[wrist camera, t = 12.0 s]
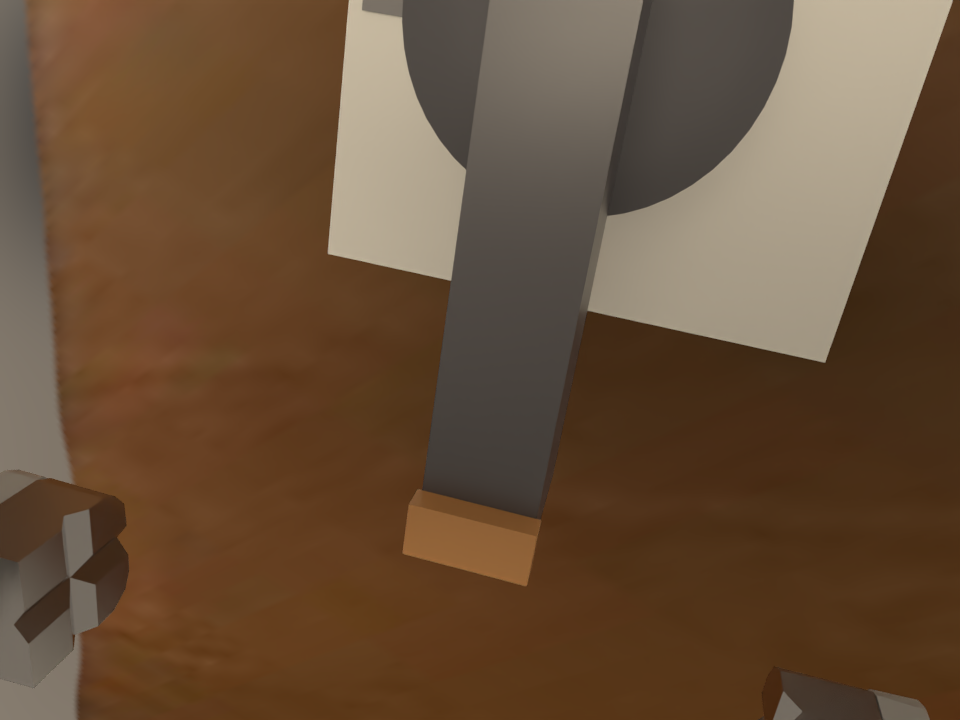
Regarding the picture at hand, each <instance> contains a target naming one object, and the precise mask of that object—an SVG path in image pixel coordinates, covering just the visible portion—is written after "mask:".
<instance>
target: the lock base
mask: <svg viewBox="0 0 960 720" xmlns="http://www.w3.org/2000/svg"><path fill="white" fill-rule="evenodd" d="M952 2H953V0H794V6H793V19H792V28H791V33H790V37H789V42H788V47H787V52H786V56H785V59H784V62H783V65H782V67H781V70H780V73H779V76H778V79H777V82H776V84H775V86H774V88H773V90H772V92H771V94H770V96H769V99H768V101H767V103H766V105H765V107H764V108H763V110H762V112H761V113H760V115H759V116H758V118H757V119H756V121H755V122H754V124H753V126H752V127H751V129H750V130H749V132H748V133H747V134H746V135H745V136H744V138H743V139H742V140H741V141H740V142H739V144H738V145H737V146H736V147H735V148H734V150H733V151H732V152H731V153H730V154H729V155H728V156H727V157H726V158H725V159H724V160H723V161H721V162H720V163H719V164H718V165H717V166H716V167H715V168H714V169H713V170H712V171H710V172H709V173H708V174H706V175H705V176H704V177H702V178H701V179H700V180H698V181H697V182H696V183H694V184H693V185H692V186H690V187H688V188H686V189H685V190H683V191H681V192H679V193H677V194H676V195H674V196H672V197H670V198H668V199H666V200H663V201H661V202H659V203H656V204H654V205H651V206H649V207H646V208H643V209H639V210H635V211H631V212H628V213H624V214H618V215H610V216H607V219H606V224H605V229H604V234H603V239H602V243H601V248H600V253H599V258H598V262H597V267H596V272H595V277H594V281H593V286H592V291H591V296H590V301H589V305H588V310H587V311H591V312H596V313H601V314H605V315H610V316H614V317H619V318H623V319H628V320H633V321H637V322H642V323H646V324H651V325H655V326H660V327H664V328H669V329H674V330H678V331H683V332H687V333H692V334H696V335H701V336H706V337H710V338H715V339H719V340H724V341H728V342H733V343H737V344H742V345H747V346H751V347H756V348H760V349H765V350H769V351H774V352H779V353H783V354H788V355H792V356H797V357H801V358H806V359H810V360H815V361H820V362H824V363H825V361H826V359H827V356H828V353H829V350H830V347H831V344H832V342H833V339H834V336H835V333H836V330H837V327H838V325H839V322H840V319H841V316H842V313H843V310H844V308H845V305H846V302H847V299H848V296H849V293H850V291H851V288H852V285H853V282H854V279H855V276H856V274H857V271H858V268H859V265H860V262H861V259H862V257H863V254H864V251H865V248H866V245H867V242H868V240H869V237H870V234H871V231H872V228H873V225H874V223H875V220H876V217H877V214H878V211H879V208H880V206H881V203H882V200H883V197H884V194H885V191H886V189H887V186H888V183H889V180H890V177H891V174H892V172H893V169H894V166H895V163H896V160H897V157H898V155H899V152H900V149H901V146H902V143H903V140H904V138H905V135H906V132H907V129H908V126H909V123H910V121H911V118H912V115H913V112H914V109H915V106H916V104H917V101H918V98H919V95H920V92H921V89H922V87H923V84H924V81H925V78H926V75H927V72H928V70H929V67H930V64H931V61H932V58H933V55H934V53H935V50H936V47H937V44H938V41H939V38H940V36H941V33H942V30H943V27H944V24H945V21H946V19H947V16H948V13H949V10H950V7H951V4H952ZM402 10H403V0H349V6H348V18H347V30H346V42H345V54H344V66H343V78H342V89H341V101H340V113H339V125H338V137H337V149H336V161H335V173H334V185H333V197H332V209H331V221H330V233H329V245H328V254H331V255H336V256H340V257H345V258H350V259H354V260H359V261H363V262H368V263H372V264H377V265H382V266H386V267H391V268H395V269H400V270H404V271H409V272H413V273H418V274H423V275H427V276H432V277H436V278H441V279H445V280H450V281H451V278H452V271H453V263H454V256H455V249H456V241H457V234H458V227H459V220H460V212H461V205H462V198H463V190H464V183H465V176H466V169H465V168H464V167H463V166H462V165H461V164H460V163H459V162H457V161H456V160H455V159H454V157H453V156H452V155H451V154H450V152H449V151H448V150H447V149H446V147H445V146H444V145H443V144H442V142H441V141H440V140H439V138H438V137H437V135H436V133H435V132H434V130H433V129H432V127H431V125H430V124H429V122H428V120H427V119H426V117H425V114H424V112H423V110H422V108H421V106H420V103H419V101H418V99H417V97H416V94H415V91H414V87H413V84H412V81H411V78H410V75H409V71H408V66H407V61H406V56H405V50H404V41H403V28H402Z"/></svg>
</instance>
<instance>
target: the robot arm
mask: <svg viewBox="0 0 960 720" xmlns="http://www.w3.org/2000/svg"><path fill="white" fill-rule="evenodd" d="M125 527H126V517H125V507H124V503H122V502H121V501H120V500H119V499H117V498H116V497H115V496H112V495H108V494H105V493H101V492H98V491H94V490H91V489H87V488H83V487H80V486H76V485H73V484H69V483H65V482H62V481H58V480H55V479H52V478H46V477H43V476H39V475H36V474H32V473H28V472H25V471H21V470H8V471H3V472H1V473H0V679H3V680H6V681H10V682H13V683H17V684H20V685H24V686H28V687H31V688H34V687H36V686H37V685H38V684H39V683H40V682H41V681H42V680H43V679H44V678H45V677H46V676H47V675H48V674H49V673H50V672H51V671H52V670H53V669H54V668H55V667H56V666H57V665H58V664H59V663H60V662H61V661H63V660H64V659H65V658H66V657H67V656H68V655H69V654H70V653H71V652H72V651H73V648H74V639H75V635H76V634H78V633H81V632H84V631H86V630H89V629H91V628H94V627H97V626H99V625H100V624H101V623H102V622H103V621H104V620H105V619H106V618H107V617H108V616H109V615H110V614H111V613H112V611H113V610H114V609H115V607H116V605H117V603H118V601H119V600H120V598H121V596H122V594H123V592H124V590H125V588H126V583H127V578H128V573H129V561H128V554H127V552H126V551H125V549H124V548H123V546H122V545H121V543H120V541H119V540H118V538H117V537H118V535H119V534H120V533H121V532H122V531H123V529H124V528H125ZM762 702H763V711H764V716H763V717H762V718H760V719H758V720H930V719H929V716H928V713H927V711H926V708H925V707H924V706H923V705H922V704H921V703H920V702H919V701H918V700H915V699H911V698H907V697H902V696H898V695H894V694H889V693H885V692H881V691H876V690H872V689H868V690H865V689H862V688H858V687H854V686H850V685H846V684H842V683H838V682H834V681H830V680H827V679H823V678H819V677H815V676H811V675H807V674H803V673H799V672H795V671H791V670H787V669H783V668H779V667H775V666H774V667H773V668H772V670H771V671H770V673H769V675H768V677H767V679H766V682H765V685H764V688H763V691H762Z"/></svg>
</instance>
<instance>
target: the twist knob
mask: <svg viewBox="0 0 960 720" xmlns="http://www.w3.org/2000/svg"><path fill="white" fill-rule="evenodd" d="M793 6H794V0H403V10H402V28H403V41H404V50H405V56H406V61H407V66H408V71H409V75H410V78H411V81H412V84H413V87H414V91H415V94H416V97H417V99H418V101H419V103H420V106H421V108H422V110H423V112H424V114H425V117H426V119H427V120H428V122H429V124H430V125H431V127H432V129H433V130H434V132H435V133H436V135H437V137H438V138H439V140H440V141H441V142H442V144H443V145H444V146H445V147H446V149H447V150H448V151H449V152H450V154H451V155H452V156H453V157H454V159H455V160H456V161H457V162H459V163H460V164H461V165H462V166H463V167H464V168H465V169H466V176H465V183H464V190H463V198H462V205H461V212H460V220H459V227H458V234H457V241H456V249H455V256H454V263H453V271H452V278H451V285H450V292H449V300H448V307H447V314H446V322H445V329H444V336H443V343H442V351H441V358H440V365H439V372H438V380H437V387H436V394H435V402H434V409H433V416H432V423H431V431H430V438H429V445H428V453H427V460H426V467H425V474H424V482H423V489H422V490H419V489H417V491H416V493H415V495H414V496H413V498H412V500H411V501H410V503H409V507H408V515H407V523H406V530H405V538H404V546H403V553H402V554H406V555H409V556H413V557H417V558H421V559H424V560H428V561H432V562H436V563H440V564H443V565H447V566H451V567H455V568H459V569H462V570H466V571H470V572H474V573H478V574H481V575H485V576H489V577H493V578H496V579H500V580H504V581H508V582H512V583H515V584H519V585H523V586H527V583H528V580H529V576H530V572H531V568H532V564H533V559H534V554H535V549H536V544H537V540H538V535H539V530H540V525H541V520H540V519H541V516H542V512H543V508H544V505H545V501H546V498H547V494H548V491H549V487H550V483H551V480H552V476H553V472H554V468H555V463H556V458H557V453H558V448H559V444H560V439H561V434H562V429H563V425H564V420H565V415H566V410H567V406H568V401H569V396H570V391H571V386H572V382H573V377H574V372H575V367H576V363H577V358H578V353H579V348H580V343H581V339H582V334H583V329H584V324H585V320H586V315H587V310H588V305H589V301H590V296H591V291H592V286H593V281H594V277H595V272H596V267H597V262H598V258H599V253H600V248H601V243H602V239H603V234H604V229H605V224H606V219H607V216H610V215H618V214H624V213H628V212H631V211H635V210H639V209H643V208H646V207H649V206H651V205H654V204H656V203H659V202H661V201H663V200H666V199H668V198H670V197H672V196H674V195H676V194H677V193H679V192H681V191H683V190H685V189H686V188H688V187H690V186H692V185H693V184H694V183H696V182H697V181H698V180H700V179H701V178H702V177H704V176H705V175H706V174H708V173H709V172H710V171H712V170H713V169H714V168H715V167H716V166H717V165H718V164H719V163H720V162H721V161H723V160H724V159H725V158H726V157H727V156H728V155H729V154H730V153H731V152H732V151H733V150H734V148H735V147H736V146H737V145H738V144H739V142H740V141H741V140H742V139H743V138H744V136H745V135H746V134H747V133H748V132H749V130H750V129H751V127H752V126H753V124H754V122H755V121H756V119H757V118H758V116H759V115H760V113H761V112H762V110H763V108H764V107H765V105H766V103H767V101H768V99H769V96H770V94H771V92H772V90H773V88H774V86H775V84H776V82H777V79H778V76H779V73H780V70H781V67H782V65H783V62H784V59H785V56H786V52H787V47H788V42H789V37H790V33H791V28H792V19H793Z"/></svg>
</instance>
